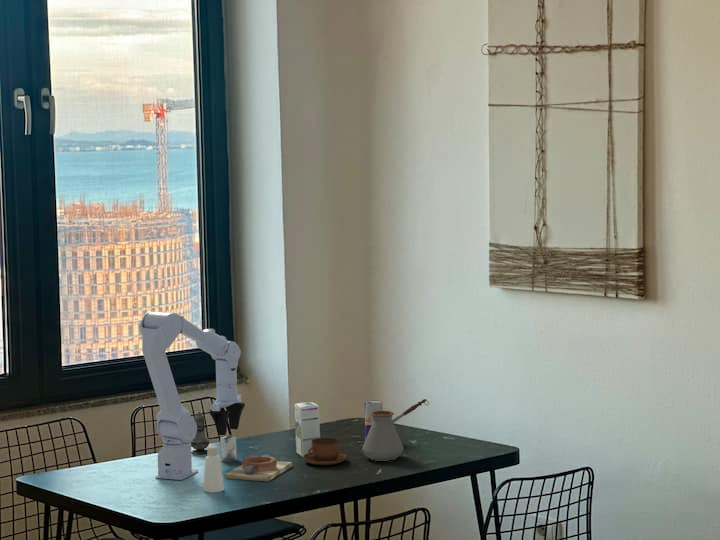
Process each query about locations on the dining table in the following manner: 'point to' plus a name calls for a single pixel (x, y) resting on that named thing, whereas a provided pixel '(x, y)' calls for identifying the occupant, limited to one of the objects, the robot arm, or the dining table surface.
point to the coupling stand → (259, 468)
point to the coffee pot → (385, 436)
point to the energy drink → (369, 408)
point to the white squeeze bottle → (213, 471)
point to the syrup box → (306, 426)
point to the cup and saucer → (324, 452)
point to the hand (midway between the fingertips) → (228, 432)
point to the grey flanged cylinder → (200, 437)
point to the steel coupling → (228, 448)
